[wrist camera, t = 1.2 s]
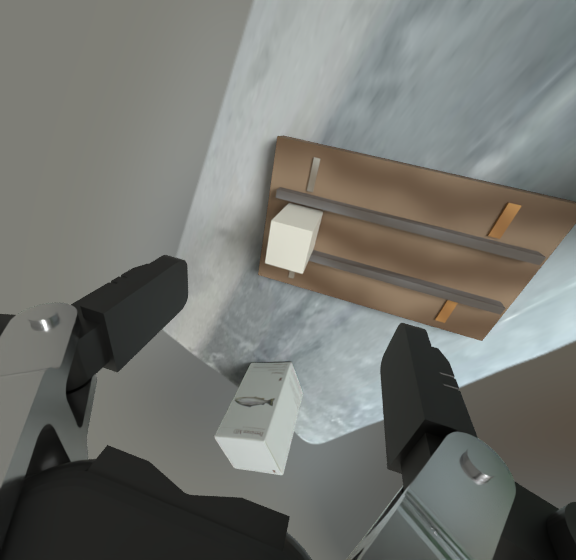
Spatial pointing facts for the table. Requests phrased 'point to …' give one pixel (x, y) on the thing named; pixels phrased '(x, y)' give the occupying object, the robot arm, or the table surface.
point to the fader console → (413, 235)
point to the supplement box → (262, 418)
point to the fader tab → (293, 237)
